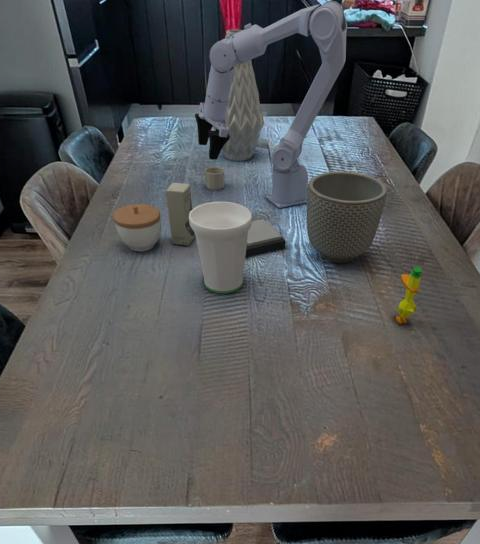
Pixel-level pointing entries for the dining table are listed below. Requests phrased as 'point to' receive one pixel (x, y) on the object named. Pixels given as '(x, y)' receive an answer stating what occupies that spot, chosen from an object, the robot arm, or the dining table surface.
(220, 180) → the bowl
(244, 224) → the cup
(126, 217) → the trinket box
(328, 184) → the planter
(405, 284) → the toy figure
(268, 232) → the scale
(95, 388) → the dining table surface
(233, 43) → the robot arm
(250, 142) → the vase
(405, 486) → the dining table surface
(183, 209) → the box
